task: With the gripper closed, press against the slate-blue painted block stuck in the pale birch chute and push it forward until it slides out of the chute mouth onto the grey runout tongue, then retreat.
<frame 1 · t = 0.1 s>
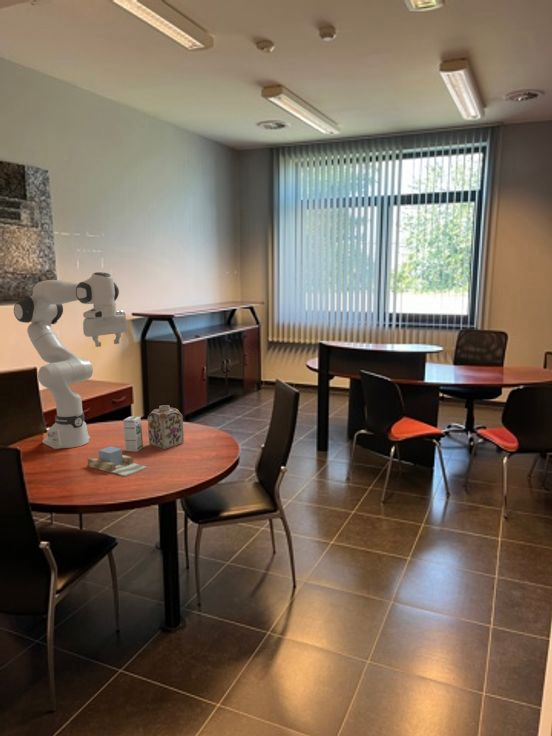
hand: (107, 345, 223), 48 cm above the table, fingers open, 8 cm apart
decorative jar: (166, 444, 245), on the table
chute: (116, 466, 216), on the table
slate block: (110, 456, 217), point 4 cm above the table, slide at 0.0 cm
syrup box: (134, 449, 238), on the table
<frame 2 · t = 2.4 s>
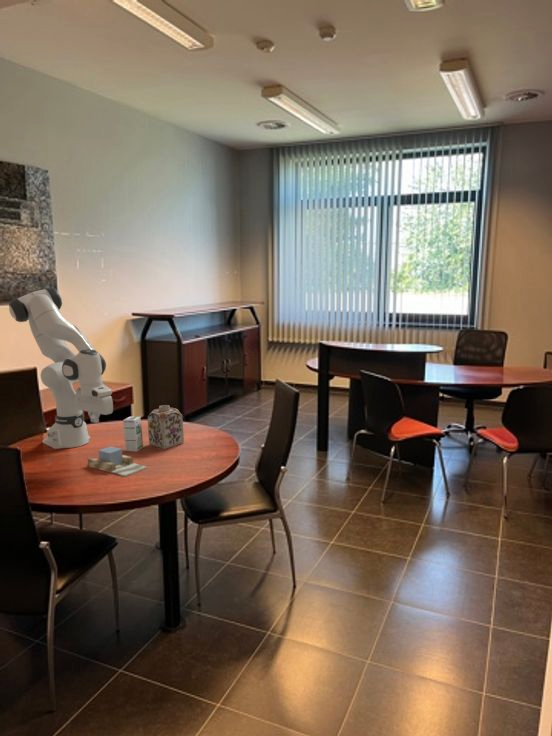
hand: (94, 422, 220), 17 cm above the table, fingers closed
nothing on the table moved.
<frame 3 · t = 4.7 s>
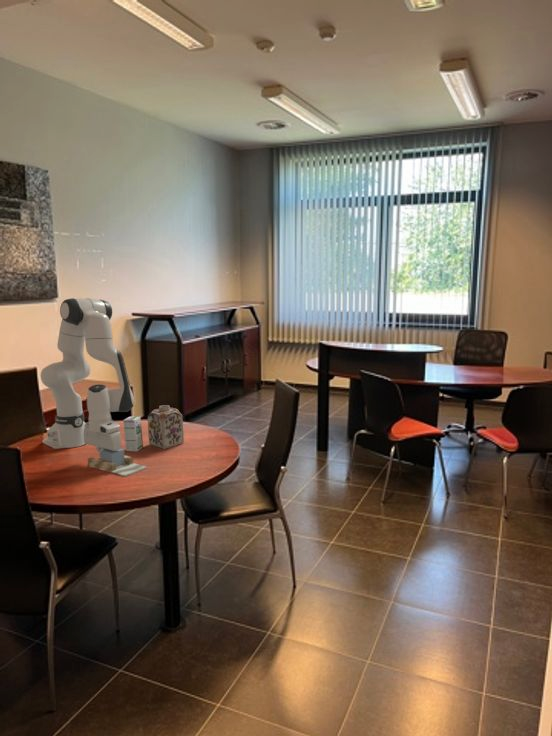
hand: (103, 457, 220), 3 cm above the table, fingers closed
slate block: (112, 457, 217), point 4 cm above the table, slide at 1.3 cm, touching gripper
everything else where it was.
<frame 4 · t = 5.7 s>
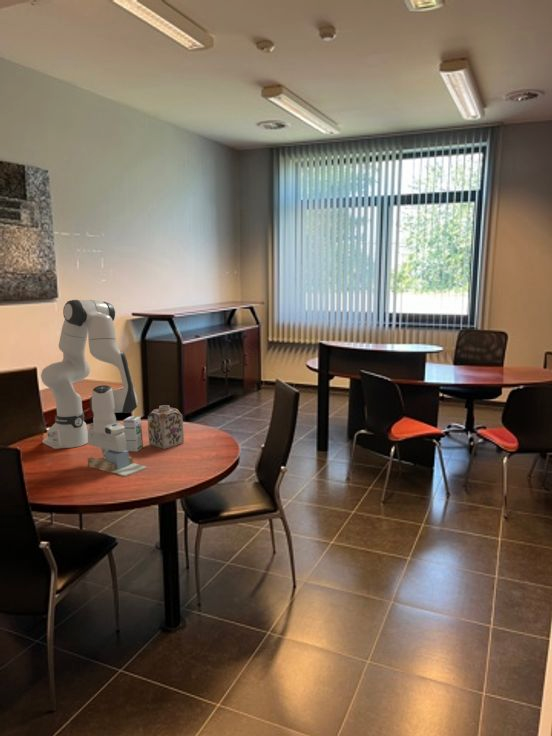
hand: (107, 458, 219), 3 cm above the table, fingers closed
slate block: (117, 458, 215), point 4 cm above the table, slide at 4.0 cm, touching gripper
everything else where it was.
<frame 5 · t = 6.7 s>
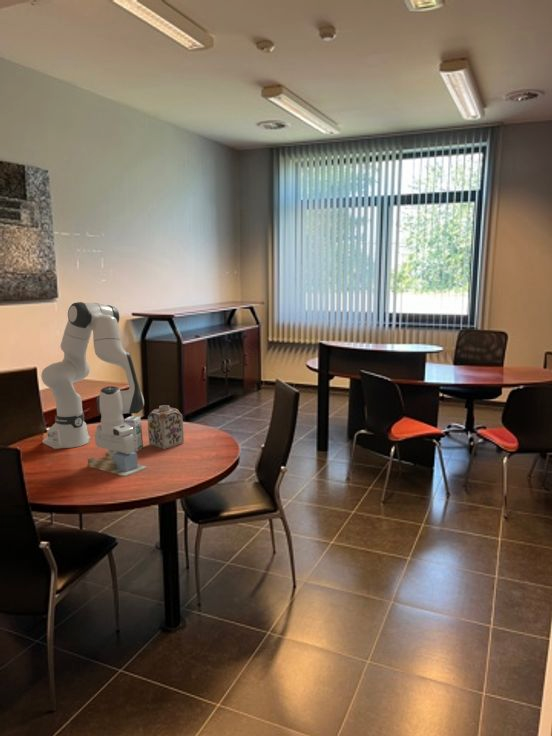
hand: (115, 460, 216), 3 cm above the table, fingers closed
slate block: (125, 460, 212), point 4 cm above the table, slide at 8.9 cm, touching gripper
everything else where it was.
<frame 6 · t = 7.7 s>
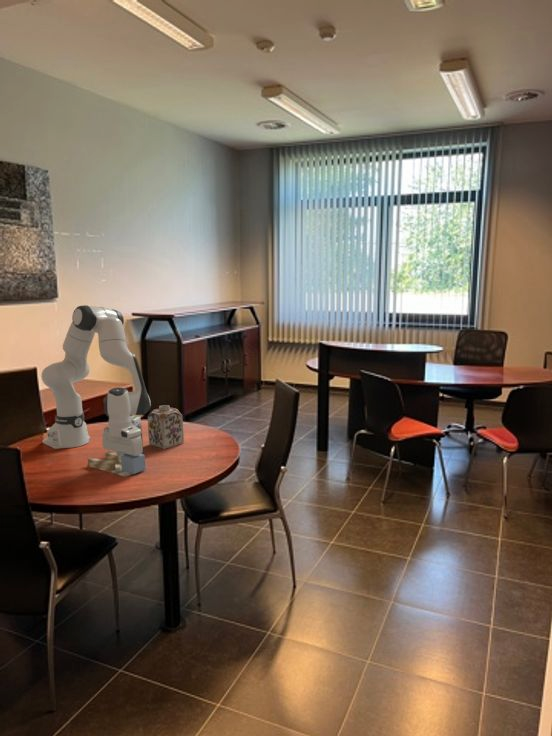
hand: (123, 462, 213), 3 cm above the table, fingers closed
slate block: (133, 462, 210), point 4 cm above the table, slide at 13.6 cm, touching gripper
everything else where it was.
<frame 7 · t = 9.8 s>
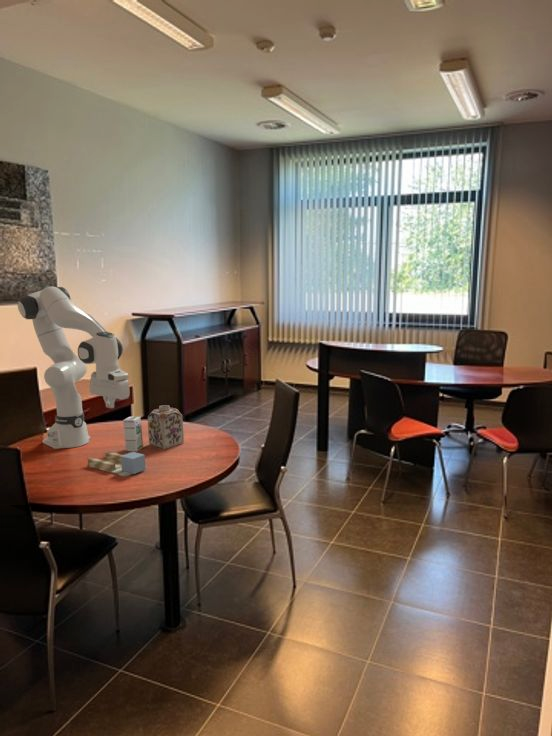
hand: (110, 407, 213), 25 cm above the table, fingers closed
slate block: (133, 462, 210), point 4 cm above the table, slide at 13.6 cm
everything else where it was.
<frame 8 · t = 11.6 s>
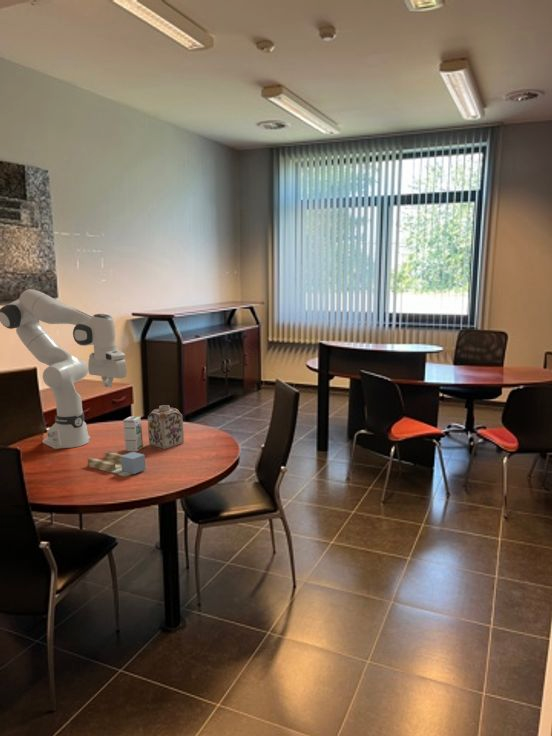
hand: (108, 386, 221), 31 cm above the table, fingers closed
nothing on the table moved.
at the end: slate block slide at 13.6 cm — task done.
